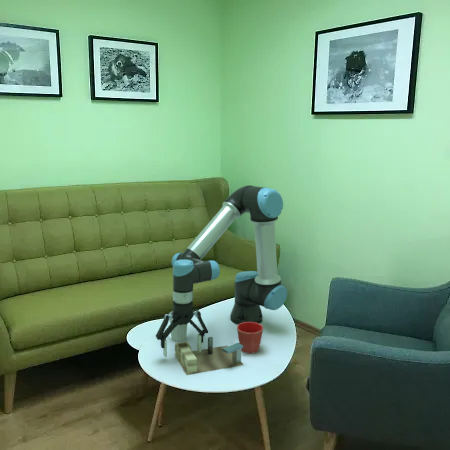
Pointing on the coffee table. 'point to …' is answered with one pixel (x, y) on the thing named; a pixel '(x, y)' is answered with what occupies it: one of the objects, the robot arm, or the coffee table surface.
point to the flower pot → (250, 336)
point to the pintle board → (212, 360)
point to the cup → (178, 331)
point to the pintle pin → (210, 345)
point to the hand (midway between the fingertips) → (182, 353)
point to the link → (186, 356)
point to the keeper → (234, 352)
